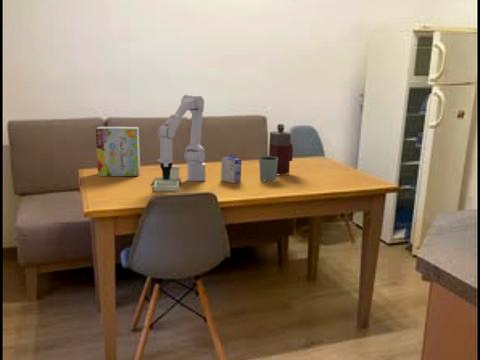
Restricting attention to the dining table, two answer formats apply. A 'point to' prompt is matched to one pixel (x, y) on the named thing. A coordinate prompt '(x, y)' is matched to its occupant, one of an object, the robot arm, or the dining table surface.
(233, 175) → the ink cartridge box
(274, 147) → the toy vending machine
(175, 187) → the tray
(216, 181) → the dining table surface
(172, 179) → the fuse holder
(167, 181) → the block
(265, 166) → the drinking glass
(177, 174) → the block
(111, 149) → the snack box
